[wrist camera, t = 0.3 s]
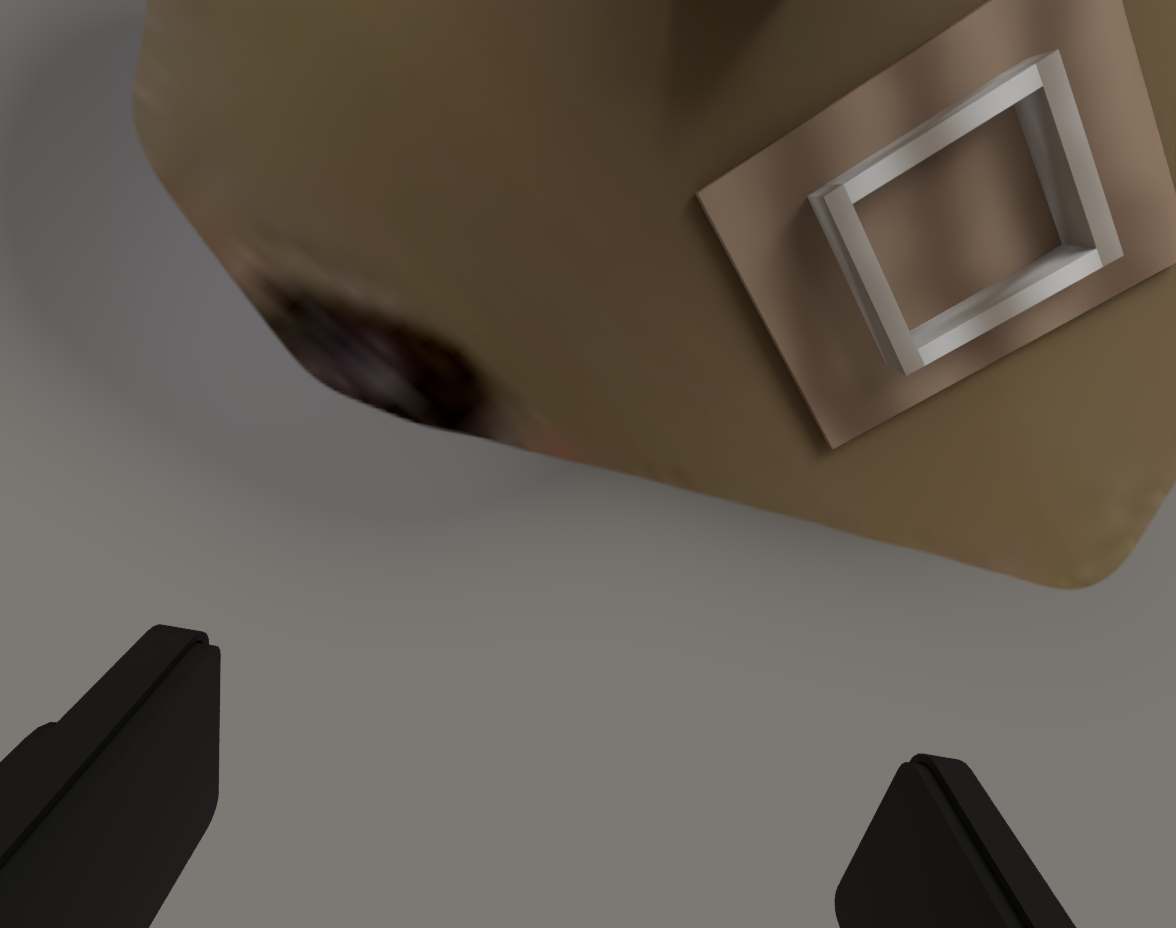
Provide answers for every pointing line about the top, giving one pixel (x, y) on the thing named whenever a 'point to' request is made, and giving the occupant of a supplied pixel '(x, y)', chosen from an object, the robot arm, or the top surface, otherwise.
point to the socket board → (951, 208)
